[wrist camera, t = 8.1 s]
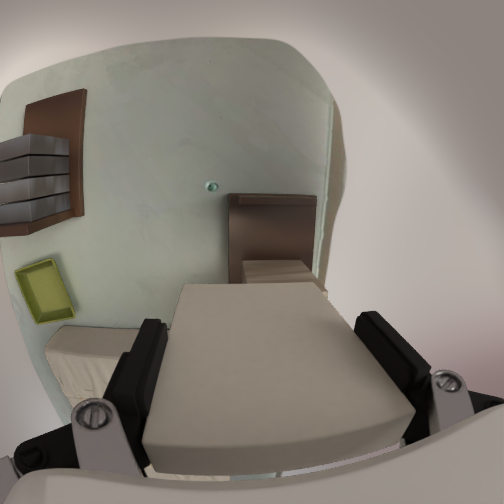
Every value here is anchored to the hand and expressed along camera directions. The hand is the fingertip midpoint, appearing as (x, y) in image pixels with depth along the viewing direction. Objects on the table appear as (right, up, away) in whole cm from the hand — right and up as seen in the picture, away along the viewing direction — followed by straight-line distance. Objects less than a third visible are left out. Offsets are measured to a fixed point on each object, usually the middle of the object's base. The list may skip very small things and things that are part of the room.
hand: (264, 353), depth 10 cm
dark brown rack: (+2, +4, +24) cm, 24 cm away
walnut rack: (-26, +16, +17) cm, 35 cm away
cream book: (-1, +1, +5) cm, 5 cm away
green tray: (-29, -1, +22) cm, 37 cm away
